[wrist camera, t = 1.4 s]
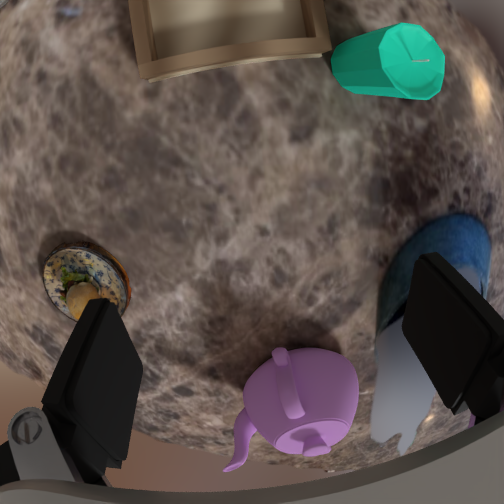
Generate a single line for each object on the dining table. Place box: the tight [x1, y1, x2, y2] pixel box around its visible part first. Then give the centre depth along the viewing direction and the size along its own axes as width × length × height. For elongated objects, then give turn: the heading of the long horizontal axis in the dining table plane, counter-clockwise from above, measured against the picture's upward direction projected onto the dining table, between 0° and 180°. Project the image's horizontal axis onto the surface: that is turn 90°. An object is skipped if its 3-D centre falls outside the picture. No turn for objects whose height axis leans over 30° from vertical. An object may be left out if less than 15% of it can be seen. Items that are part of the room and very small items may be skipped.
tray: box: [128, 0, 332, 83], centre depth 21 cm, size 16×11×4 cm
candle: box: [331, 23, 445, 100], centre depth 20 cm, size 6×6×12 cm
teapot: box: [223, 347, 359, 472], centre depth 40 cm, size 22×22×14 cm
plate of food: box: [43, 241, 131, 322], centre depth 32 cm, size 12×12×8 cm
